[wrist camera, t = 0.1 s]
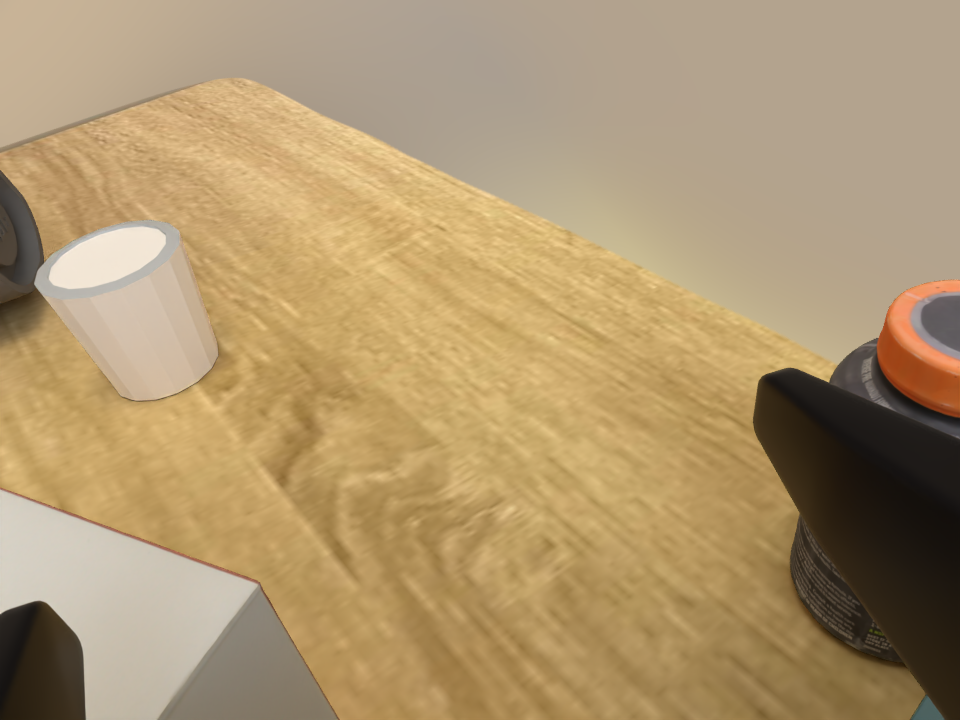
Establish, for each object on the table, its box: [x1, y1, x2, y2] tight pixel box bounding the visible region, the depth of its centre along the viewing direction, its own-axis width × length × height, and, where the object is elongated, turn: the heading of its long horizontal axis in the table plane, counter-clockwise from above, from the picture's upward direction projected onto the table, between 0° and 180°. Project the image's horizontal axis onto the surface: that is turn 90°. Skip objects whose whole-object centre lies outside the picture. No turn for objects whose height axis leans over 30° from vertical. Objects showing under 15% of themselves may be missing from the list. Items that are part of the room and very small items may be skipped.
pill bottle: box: [790, 280, 960, 663], centre depth 21 cm, size 6×6×11 cm
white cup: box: [34, 220, 218, 401], centre depth 38 cm, size 7×7×7 cm
